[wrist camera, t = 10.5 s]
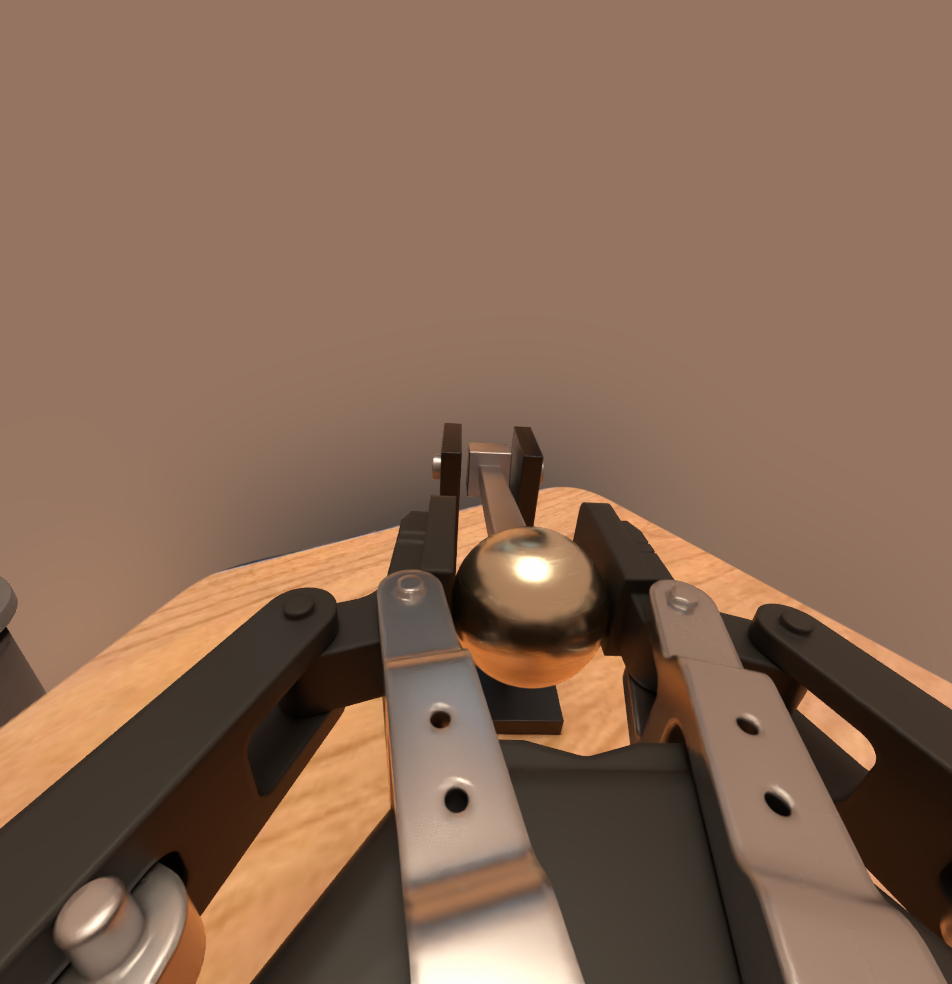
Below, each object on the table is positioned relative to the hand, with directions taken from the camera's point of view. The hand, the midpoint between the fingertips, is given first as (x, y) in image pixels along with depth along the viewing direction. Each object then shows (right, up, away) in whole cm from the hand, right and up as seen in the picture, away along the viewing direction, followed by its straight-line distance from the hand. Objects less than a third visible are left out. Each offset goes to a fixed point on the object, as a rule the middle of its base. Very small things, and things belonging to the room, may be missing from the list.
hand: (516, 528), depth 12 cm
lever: (0, -1, +5) cm, 5 cm away
